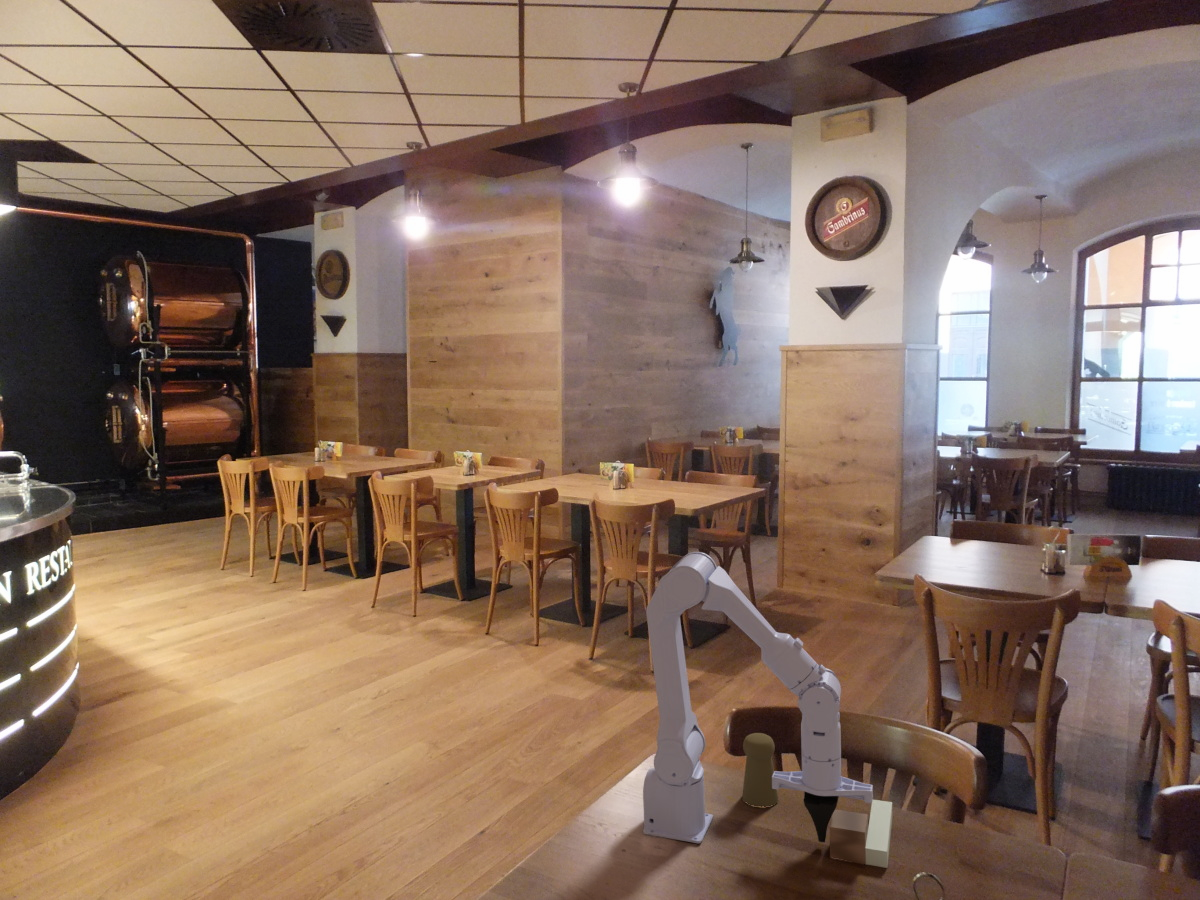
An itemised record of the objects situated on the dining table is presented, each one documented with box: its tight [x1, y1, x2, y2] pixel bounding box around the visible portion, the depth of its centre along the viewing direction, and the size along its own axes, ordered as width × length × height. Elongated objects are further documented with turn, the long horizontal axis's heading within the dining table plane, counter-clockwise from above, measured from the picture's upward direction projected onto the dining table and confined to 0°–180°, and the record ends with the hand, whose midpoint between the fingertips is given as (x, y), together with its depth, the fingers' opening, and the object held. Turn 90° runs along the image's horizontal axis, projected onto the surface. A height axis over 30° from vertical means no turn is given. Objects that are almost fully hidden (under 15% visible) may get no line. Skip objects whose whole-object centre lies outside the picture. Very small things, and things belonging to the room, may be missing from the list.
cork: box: [741, 732, 779, 807], centre depth 141 cm, size 6×6×11 cm
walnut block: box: [828, 809, 869, 865], centre depth 126 cm, size 5×5×5 cm
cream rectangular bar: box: [865, 799, 893, 869], centre depth 129 cm, size 3×14×2 cm, turn 158°
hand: (822, 838), depth 127 cm, fingers closed
